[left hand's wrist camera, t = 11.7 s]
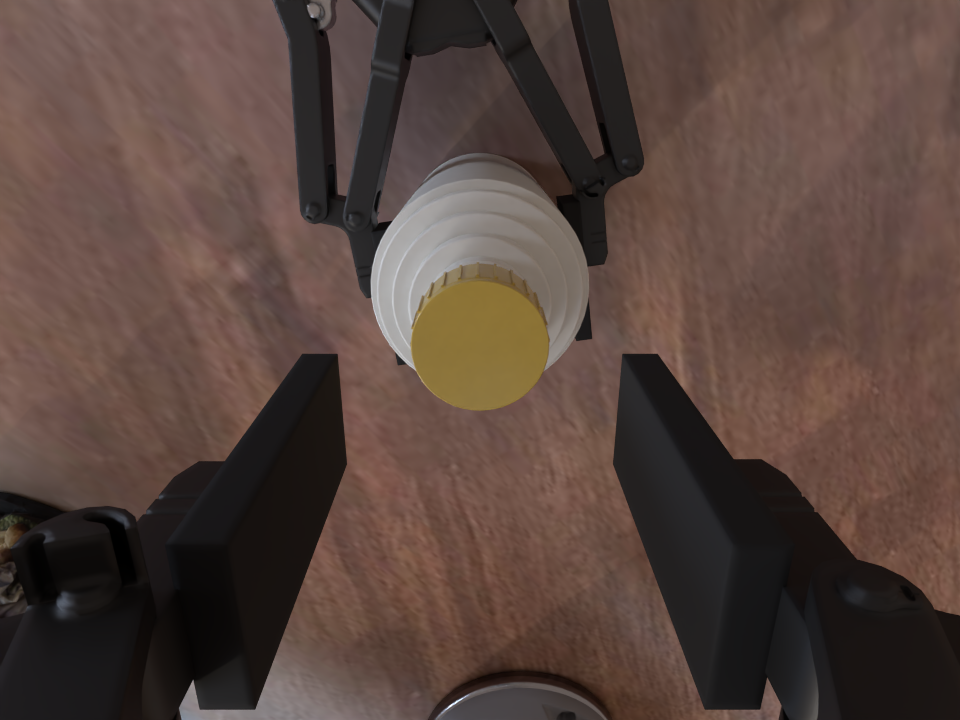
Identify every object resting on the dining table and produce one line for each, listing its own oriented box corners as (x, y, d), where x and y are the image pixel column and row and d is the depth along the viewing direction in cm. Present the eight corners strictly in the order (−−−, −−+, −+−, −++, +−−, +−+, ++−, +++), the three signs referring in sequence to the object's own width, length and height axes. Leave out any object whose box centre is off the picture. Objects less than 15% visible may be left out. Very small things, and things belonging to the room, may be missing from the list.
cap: (564, 288, 20) (573, 308, 18) (515, 399, 21) (519, 429, 19) (440, 242, 19) (436, 257, 17) (399, 359, 20) (390, 386, 18)
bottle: (573, 184, 36) (669, 263, 18) (519, 313, 38) (554, 498, 20) (436, 130, 35) (389, 154, 17) (391, 267, 37) (307, 416, 19)
